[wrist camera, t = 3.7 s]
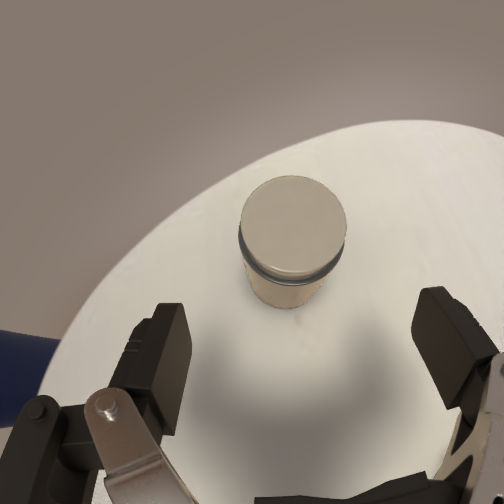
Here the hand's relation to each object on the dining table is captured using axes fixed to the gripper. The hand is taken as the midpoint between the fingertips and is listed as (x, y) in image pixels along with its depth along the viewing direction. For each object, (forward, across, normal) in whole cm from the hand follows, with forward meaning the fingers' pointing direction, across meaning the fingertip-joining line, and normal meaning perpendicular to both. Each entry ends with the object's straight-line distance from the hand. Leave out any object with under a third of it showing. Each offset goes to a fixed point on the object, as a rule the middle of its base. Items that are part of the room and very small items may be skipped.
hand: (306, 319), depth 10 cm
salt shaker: (+9, 0, +3) cm, 9 cm away
